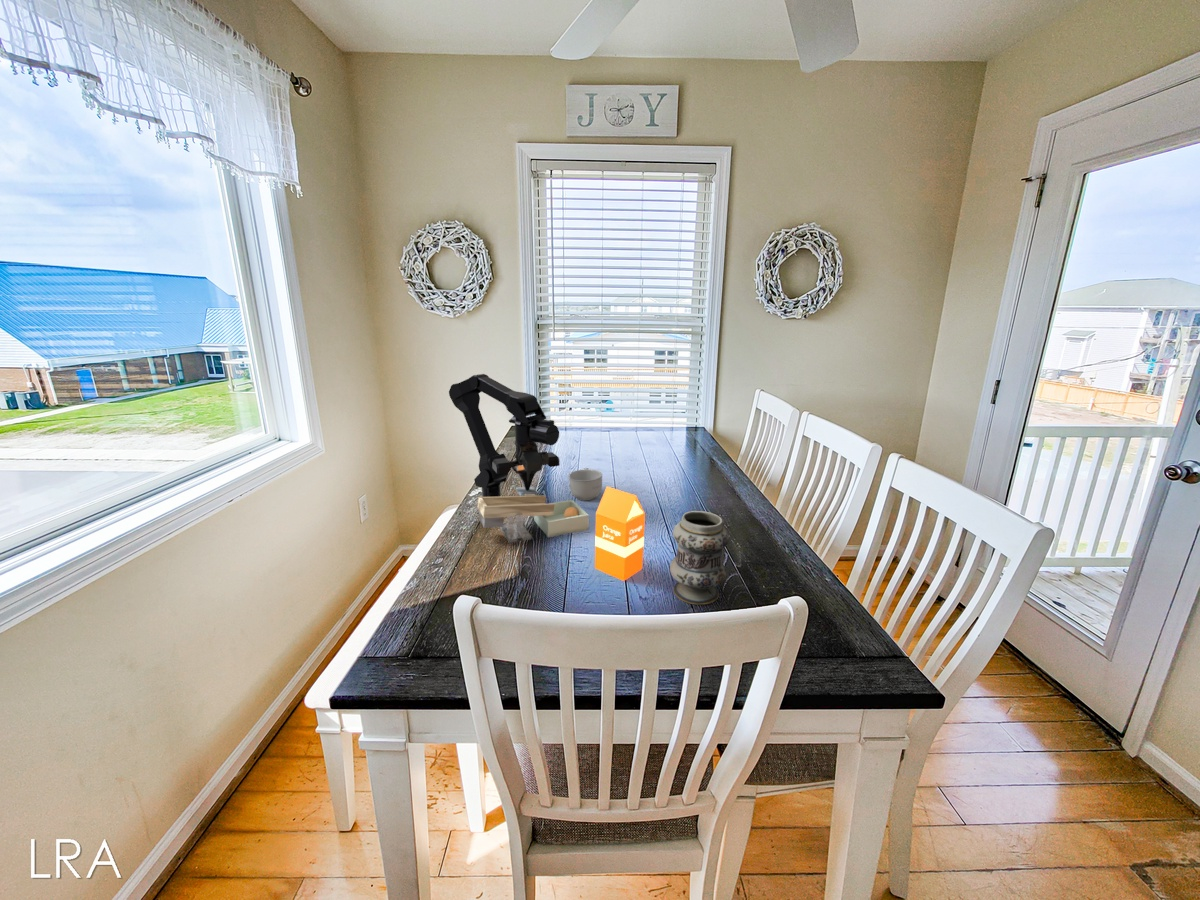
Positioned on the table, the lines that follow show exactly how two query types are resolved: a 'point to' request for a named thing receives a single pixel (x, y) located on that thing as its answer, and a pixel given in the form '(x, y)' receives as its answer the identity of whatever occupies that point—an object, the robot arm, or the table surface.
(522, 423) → the robot arm
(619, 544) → the orange juice
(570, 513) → the ball
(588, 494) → the teacup
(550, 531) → the bin
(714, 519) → the apothecary jar
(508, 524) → the pivot stand
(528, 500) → the lever
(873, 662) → the table surface
